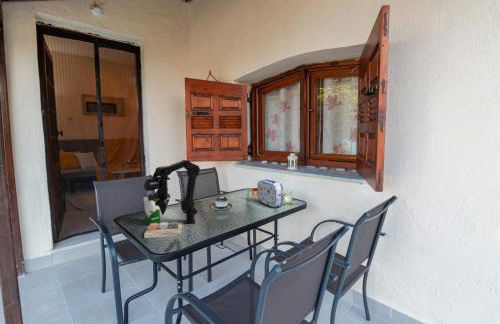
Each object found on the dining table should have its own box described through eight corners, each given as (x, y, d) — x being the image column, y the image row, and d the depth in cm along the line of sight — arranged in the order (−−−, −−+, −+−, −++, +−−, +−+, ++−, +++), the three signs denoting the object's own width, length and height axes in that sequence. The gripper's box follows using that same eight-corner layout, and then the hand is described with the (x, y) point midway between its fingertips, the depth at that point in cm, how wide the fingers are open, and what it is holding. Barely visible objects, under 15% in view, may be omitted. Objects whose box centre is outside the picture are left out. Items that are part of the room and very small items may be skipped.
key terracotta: (151, 228, 153) (150, 223, 152) (157, 228, 153) (157, 223, 153) (149, 231, 149) (149, 225, 148) (156, 230, 149) (156, 225, 149)
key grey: (161, 228, 154) (161, 222, 153) (168, 227, 154) (167, 222, 154) (160, 230, 150) (160, 225, 149) (167, 229, 151) (166, 224, 150)
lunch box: (285, 207, 203) (286, 181, 201) (275, 210, 197) (276, 182, 195) (265, 200, 226) (265, 176, 223) (256, 202, 220) (256, 177, 218)
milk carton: (150, 226, 162) (148, 196, 160) (143, 223, 168) (141, 194, 165) (162, 222, 169) (161, 194, 166) (155, 220, 174) (153, 192, 172)
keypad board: (149, 229, 157) (149, 225, 157) (182, 226, 161) (181, 223, 161) (144, 238, 144) (144, 233, 143) (180, 235, 147) (180, 231, 147)
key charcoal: (171, 227, 155) (171, 222, 154) (178, 226, 156) (177, 221, 155) (170, 229, 151) (170, 224, 151) (177, 229, 152) (177, 223, 151)
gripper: (151, 185, 157) (152, 209, 159) (144, 192, 139) (146, 219, 140) (169, 184, 159) (170, 208, 161) (165, 191, 141) (166, 217, 143)
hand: (163, 213), depth 151 cm, fingers open, 5 cm apart
